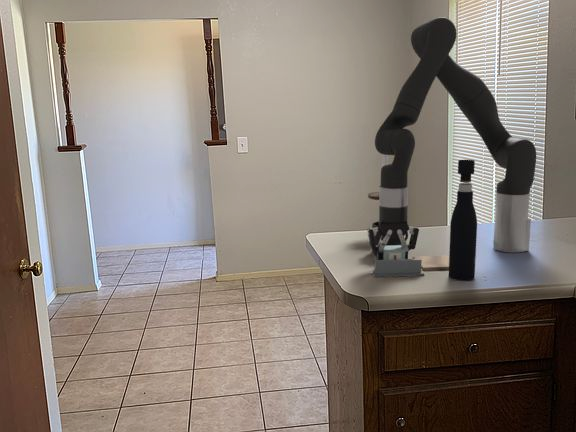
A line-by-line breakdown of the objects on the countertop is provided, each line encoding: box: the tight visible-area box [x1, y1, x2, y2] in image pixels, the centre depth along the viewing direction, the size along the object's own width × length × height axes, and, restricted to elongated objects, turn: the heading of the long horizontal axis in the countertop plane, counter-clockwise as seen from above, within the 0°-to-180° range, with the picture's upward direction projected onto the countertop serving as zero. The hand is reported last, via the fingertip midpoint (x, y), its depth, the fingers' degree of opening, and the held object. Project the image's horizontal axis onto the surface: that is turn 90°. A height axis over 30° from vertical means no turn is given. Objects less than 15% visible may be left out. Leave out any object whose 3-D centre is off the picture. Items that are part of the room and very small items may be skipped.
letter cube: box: [383, 245, 405, 260], centre depth 153 cm, size 6×6×6 cm
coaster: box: [412, 254, 449, 271], centre depth 156 cm, size 11×11×1 cm
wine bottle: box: [448, 159, 478, 282], centre depth 142 cm, size 6×6×30 cm
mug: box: [371, 220, 409, 256], centre depth 168 cm, size 9×12×9 cm
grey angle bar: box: [372, 258, 425, 278], centre depth 147 cm, size 13×3×4 cm, turn 92°
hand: (392, 264), depth 154 cm, fingers closed on letter cube, 5 cm apart
